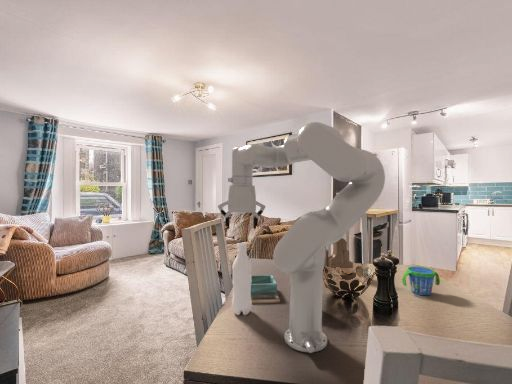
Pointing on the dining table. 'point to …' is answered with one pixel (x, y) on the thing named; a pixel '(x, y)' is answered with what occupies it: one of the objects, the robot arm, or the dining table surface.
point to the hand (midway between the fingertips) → (241, 228)
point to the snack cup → (421, 279)
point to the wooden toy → (338, 256)
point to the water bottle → (242, 282)
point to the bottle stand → (264, 289)
